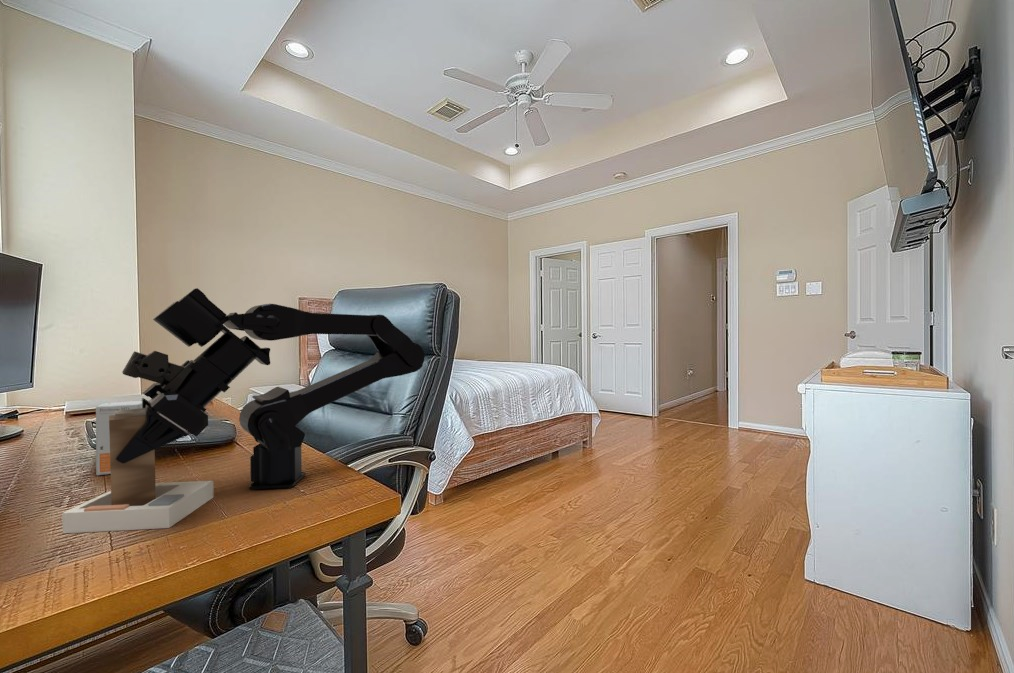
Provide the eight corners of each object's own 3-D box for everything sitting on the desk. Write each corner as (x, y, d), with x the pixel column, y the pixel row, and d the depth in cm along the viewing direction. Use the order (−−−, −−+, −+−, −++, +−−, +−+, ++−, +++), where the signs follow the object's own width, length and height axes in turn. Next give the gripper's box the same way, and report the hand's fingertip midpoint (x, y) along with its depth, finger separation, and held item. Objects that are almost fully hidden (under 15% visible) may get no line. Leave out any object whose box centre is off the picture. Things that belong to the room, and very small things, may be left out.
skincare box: (95, 476, 74) (93, 406, 74) (106, 469, 78) (105, 402, 78) (140, 471, 76) (138, 403, 76) (148, 465, 80) (147, 400, 80)
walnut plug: (153, 495, 62) (151, 406, 61) (155, 504, 58) (153, 410, 58) (111, 504, 59) (108, 411, 59) (111, 514, 56) (108, 415, 55)
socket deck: (213, 497, 64) (213, 478, 64) (169, 527, 55) (168, 505, 54) (124, 501, 63) (124, 482, 63) (62, 533, 53) (62, 510, 53)
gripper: (160, 330, 68) (61, 411, 60) (174, 330, 54) (48, 434, 47) (221, 376, 73) (137, 455, 66) (248, 387, 60) (145, 488, 52)
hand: (118, 457), depth 58 cm, fingers closed on walnut plug, 4 cm apart
